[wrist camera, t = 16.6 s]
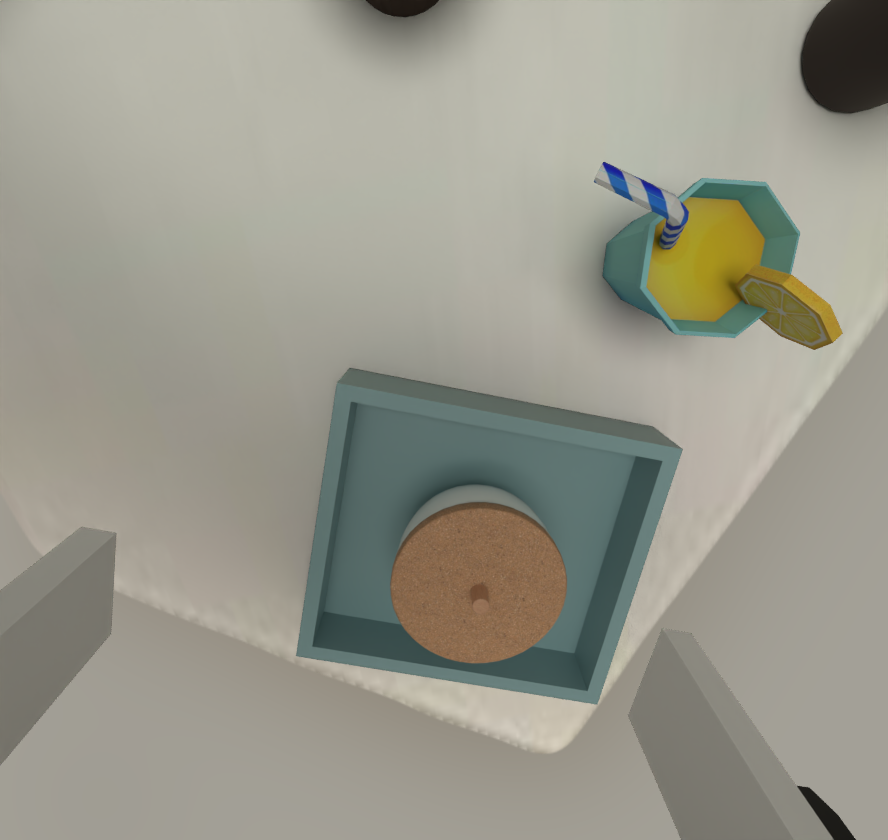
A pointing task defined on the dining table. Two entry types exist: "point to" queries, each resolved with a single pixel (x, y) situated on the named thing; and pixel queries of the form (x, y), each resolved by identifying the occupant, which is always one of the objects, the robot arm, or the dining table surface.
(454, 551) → the lidded jar
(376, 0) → the coffee mug
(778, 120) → the dining table surface
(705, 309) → the cup
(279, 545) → the dining table surface
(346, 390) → the tote
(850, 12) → the bottle
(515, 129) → the dining table surface
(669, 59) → the dining table surface
